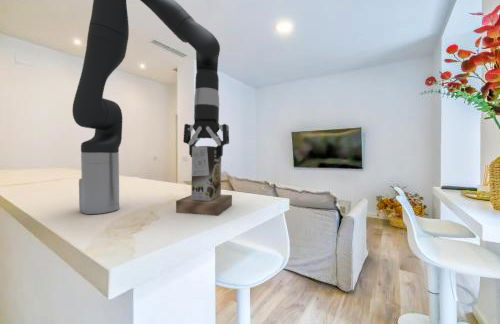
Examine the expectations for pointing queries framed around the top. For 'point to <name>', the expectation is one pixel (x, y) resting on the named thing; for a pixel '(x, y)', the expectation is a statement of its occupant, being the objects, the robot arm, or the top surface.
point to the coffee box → (205, 173)
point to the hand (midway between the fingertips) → (205, 157)
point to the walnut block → (204, 205)
